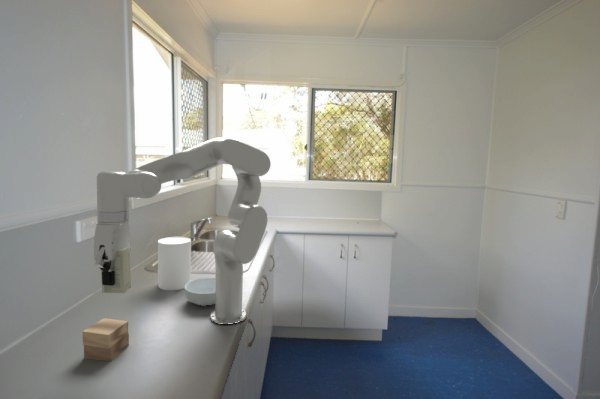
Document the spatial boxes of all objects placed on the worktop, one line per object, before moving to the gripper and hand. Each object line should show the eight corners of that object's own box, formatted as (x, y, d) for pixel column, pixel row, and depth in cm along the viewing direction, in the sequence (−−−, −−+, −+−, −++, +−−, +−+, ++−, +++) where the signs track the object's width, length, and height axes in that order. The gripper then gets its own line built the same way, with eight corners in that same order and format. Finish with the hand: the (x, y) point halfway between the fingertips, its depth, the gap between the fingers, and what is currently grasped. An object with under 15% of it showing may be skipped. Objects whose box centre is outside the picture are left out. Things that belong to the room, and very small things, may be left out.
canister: (169, 292, 139) (169, 245, 137) (152, 284, 147) (151, 240, 145) (197, 284, 150) (197, 240, 147) (179, 276, 158) (179, 235, 155)
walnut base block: (103, 343, 101) (103, 331, 100) (128, 346, 100) (128, 333, 100) (84, 359, 93) (83, 345, 93) (111, 362, 92) (111, 348, 92)
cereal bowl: (216, 314, 122) (217, 295, 121) (175, 308, 125) (175, 290, 125) (234, 296, 139) (235, 279, 138) (198, 291, 142) (198, 275, 141)
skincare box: (131, 288, 96) (131, 246, 95) (123, 294, 91) (123, 250, 90) (108, 287, 96) (108, 245, 94) (100, 293, 91) (99, 249, 90)
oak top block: (104, 330, 101) (103, 318, 100) (128, 334, 99) (128, 321, 99) (82, 345, 93) (82, 331, 92) (108, 348, 92) (108, 335, 91)
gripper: (118, 211, 100) (119, 270, 102) (78, 221, 83) (80, 292, 85) (143, 212, 99) (143, 272, 101) (107, 223, 83) (108, 294, 85)
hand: (114, 280), depth 93 cm, fingers closed on skincare box, 4 cm apart
